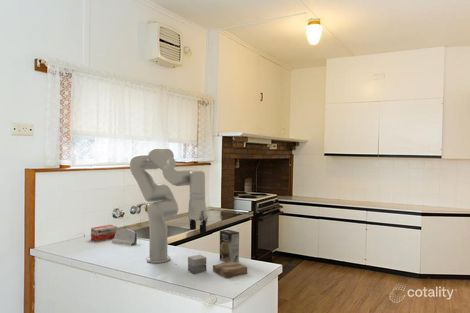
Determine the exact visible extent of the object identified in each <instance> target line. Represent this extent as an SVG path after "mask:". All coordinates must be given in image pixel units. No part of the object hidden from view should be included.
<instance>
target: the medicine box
mask: <svg viewBox="0 0 470 313" xmlns="http://www.w3.org/2000/svg"><path fill="white" fill-rule="evenodd" d="M117 230H118V226H117V225H114V224H107V225H102V226H101V225H100V226H95V227H91V229H90V239H91V240H92V241H94V242H99V241H106V240H111V239H112V240H113V239H114V237H115V234H116V231H117Z"/></svg>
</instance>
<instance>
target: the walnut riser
mask: <svg viewBox="0 0 470 313" xmlns="http://www.w3.org/2000/svg"><path fill="white" fill-rule="evenodd" d="M212 272H213V273H214V274H216V275H219V276H221V277H223V278H225V279H231V278H234V277H239V276H244V275H247V274H248V266H246V265H242V264H240V263H239V262H237V263H236V262H234V261H231V262H227V263H226V262H223V263H218V264H213V265H212Z"/></svg>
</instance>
